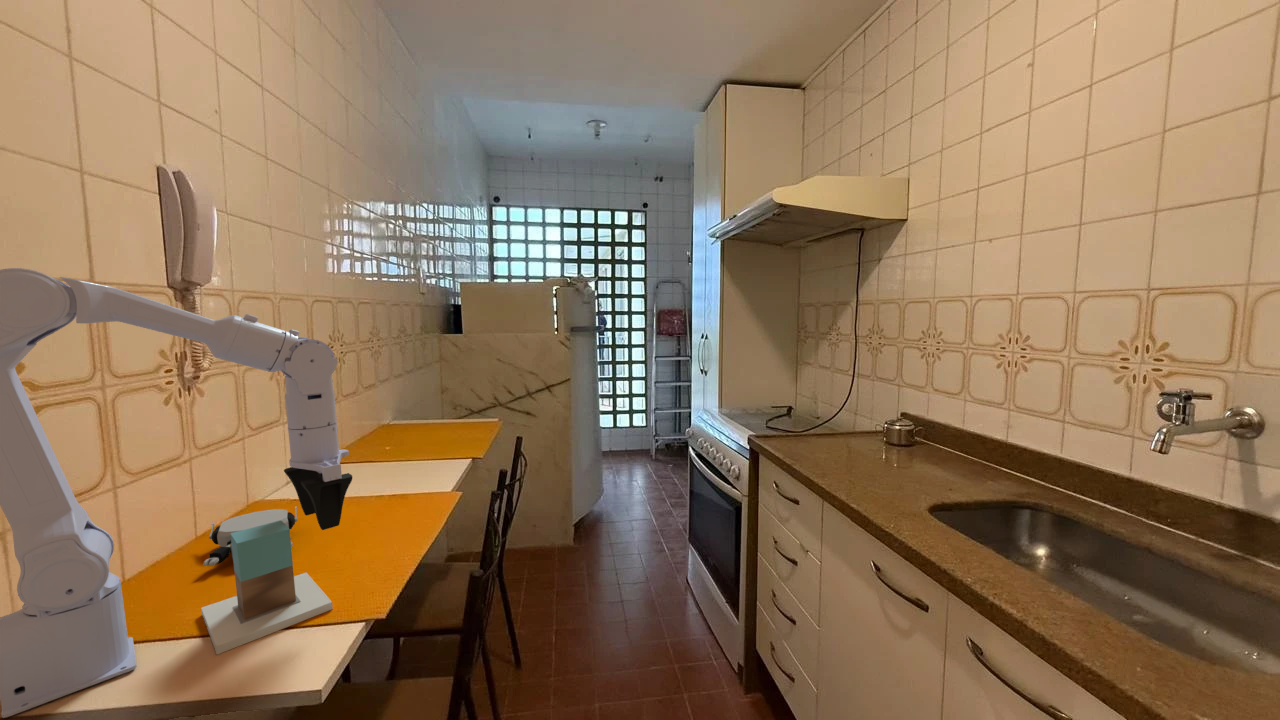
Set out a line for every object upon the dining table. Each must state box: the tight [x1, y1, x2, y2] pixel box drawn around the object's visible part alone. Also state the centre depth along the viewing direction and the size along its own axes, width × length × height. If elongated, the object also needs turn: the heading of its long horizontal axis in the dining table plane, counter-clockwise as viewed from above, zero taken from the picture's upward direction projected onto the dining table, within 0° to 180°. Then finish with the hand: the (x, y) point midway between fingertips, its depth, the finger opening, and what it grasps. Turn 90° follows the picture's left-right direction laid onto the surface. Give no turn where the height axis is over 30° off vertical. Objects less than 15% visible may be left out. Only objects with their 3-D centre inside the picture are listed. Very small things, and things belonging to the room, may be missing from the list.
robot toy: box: [203, 506, 298, 567], centre depth 86 cm, size 12×4×15 cm
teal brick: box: [230, 520, 294, 582], centre depth 67 cm, size 6×4×5 cm
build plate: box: [200, 571, 333, 655], centre depth 68 cm, size 12×12×1 cm
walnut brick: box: [234, 564, 296, 619], centre depth 67 cm, size 6×4×5 cm
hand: (321, 519), depth 72 cm, fingers open, 7 cm apart
